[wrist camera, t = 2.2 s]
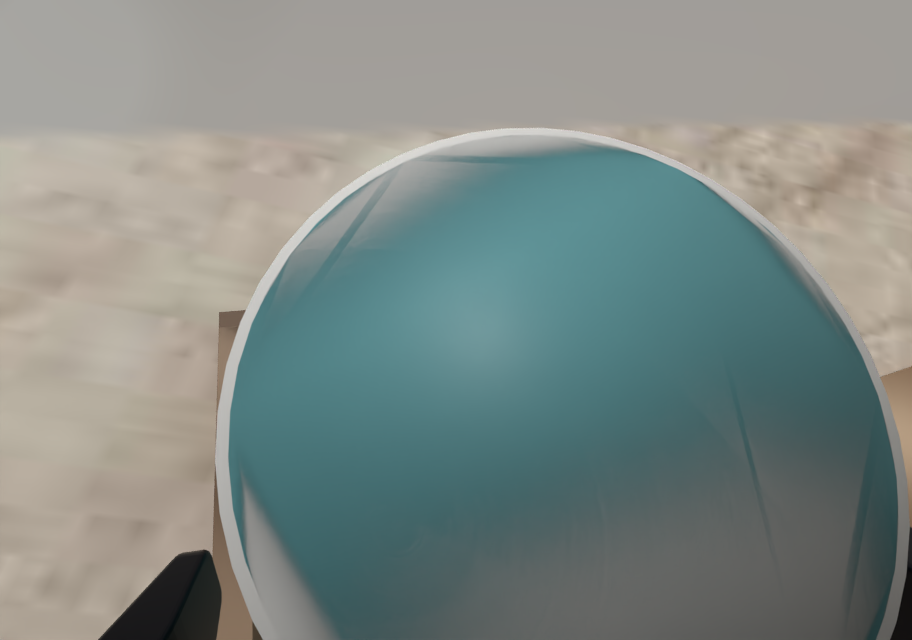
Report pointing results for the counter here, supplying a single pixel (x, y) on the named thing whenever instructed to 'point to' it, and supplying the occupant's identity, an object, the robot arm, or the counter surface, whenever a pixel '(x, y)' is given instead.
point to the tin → (555, 413)
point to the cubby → (235, 621)
